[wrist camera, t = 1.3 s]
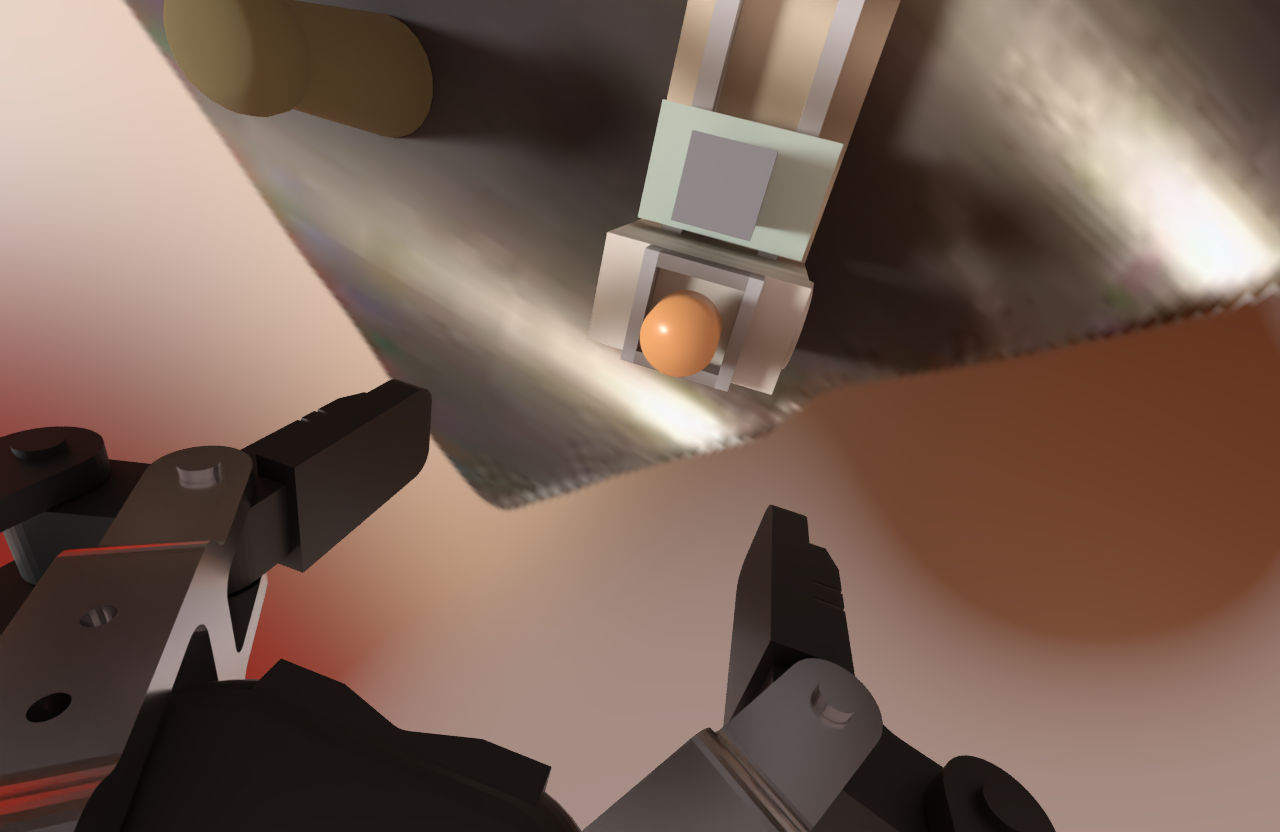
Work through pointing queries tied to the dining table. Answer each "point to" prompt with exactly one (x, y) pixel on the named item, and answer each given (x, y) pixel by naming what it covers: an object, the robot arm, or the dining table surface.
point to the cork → (303, 61)
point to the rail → (764, 93)
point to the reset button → (681, 333)
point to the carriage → (737, 179)
